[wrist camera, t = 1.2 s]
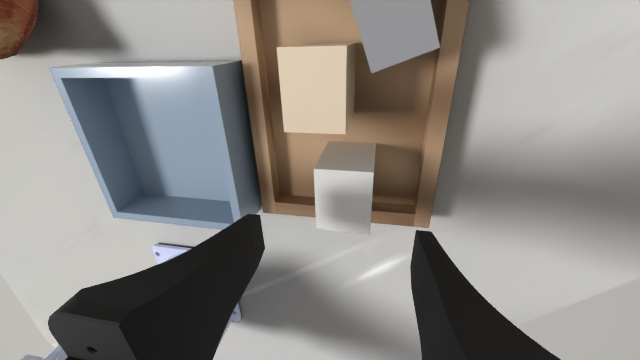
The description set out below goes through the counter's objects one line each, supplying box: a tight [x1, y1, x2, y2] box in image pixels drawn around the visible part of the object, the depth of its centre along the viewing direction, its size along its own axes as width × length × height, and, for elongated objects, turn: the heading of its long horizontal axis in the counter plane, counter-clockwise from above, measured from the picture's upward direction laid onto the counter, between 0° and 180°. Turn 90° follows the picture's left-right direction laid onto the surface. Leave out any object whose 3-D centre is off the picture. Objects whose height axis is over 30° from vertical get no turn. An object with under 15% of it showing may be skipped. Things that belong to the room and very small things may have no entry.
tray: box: [233, 0, 470, 228], centre depth 18 cm, size 16×12×2 cm
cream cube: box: [277, 43, 356, 134], centre depth 15 cm, size 4×3×4 cm
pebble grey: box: [314, 141, 376, 234], centre depth 18 cm, size 4×3×4 cm
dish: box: [49, 61, 262, 230], centre depth 21 cm, size 11×11×4 cm
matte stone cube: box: [350, 0, 440, 73], centre depth 14 cm, size 4×3×4 cm
